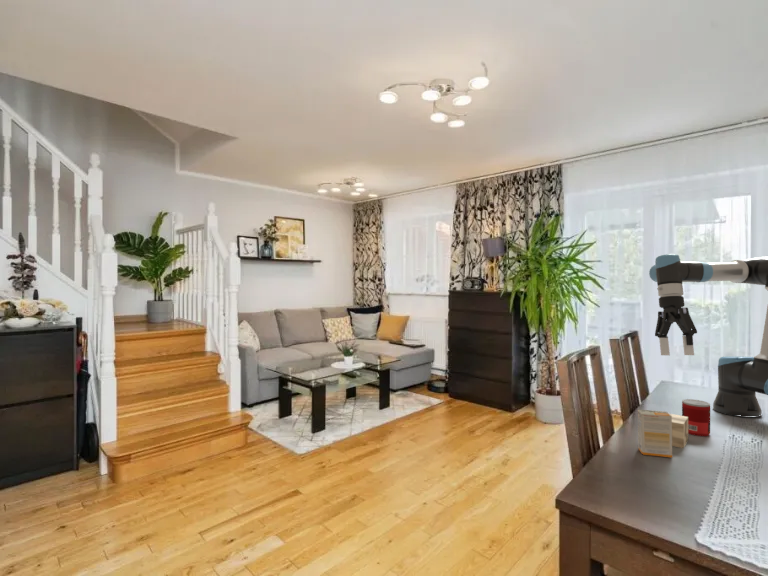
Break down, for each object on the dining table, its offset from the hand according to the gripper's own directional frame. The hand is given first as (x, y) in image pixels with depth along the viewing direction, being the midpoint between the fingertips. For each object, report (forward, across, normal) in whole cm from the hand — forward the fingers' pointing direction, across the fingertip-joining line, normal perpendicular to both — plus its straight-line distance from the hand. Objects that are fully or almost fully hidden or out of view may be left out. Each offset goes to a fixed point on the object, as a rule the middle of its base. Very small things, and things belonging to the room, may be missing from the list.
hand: (676, 355), depth 145 cm
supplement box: (+31, +14, -18) cm, 38 cm away
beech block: (+29, +2, -7) cm, 30 cm away
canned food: (+27, -6, +7) cm, 29 cm away
